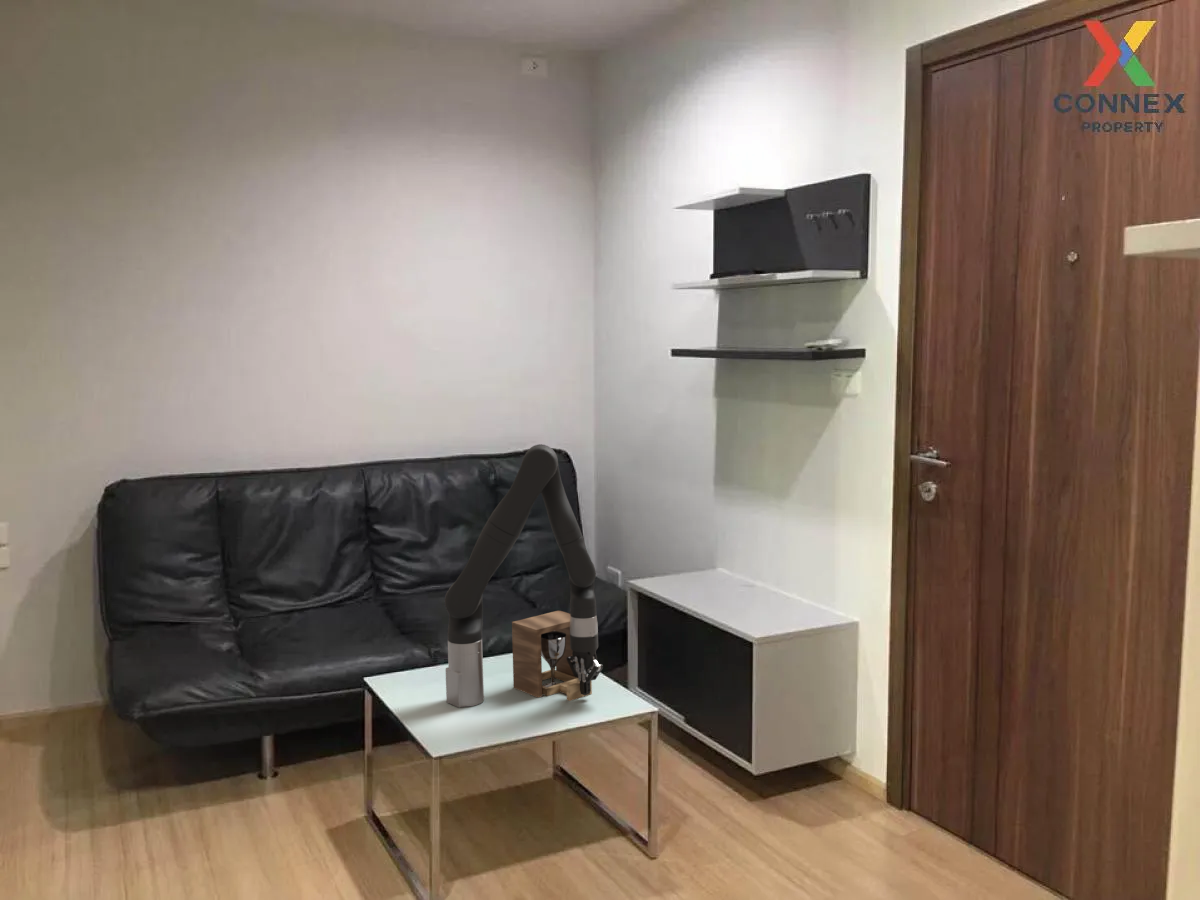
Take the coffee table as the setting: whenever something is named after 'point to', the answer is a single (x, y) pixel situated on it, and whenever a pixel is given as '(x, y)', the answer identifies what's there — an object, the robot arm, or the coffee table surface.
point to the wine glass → (553, 650)
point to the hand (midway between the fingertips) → (585, 694)
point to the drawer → (563, 685)
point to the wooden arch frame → (536, 649)
